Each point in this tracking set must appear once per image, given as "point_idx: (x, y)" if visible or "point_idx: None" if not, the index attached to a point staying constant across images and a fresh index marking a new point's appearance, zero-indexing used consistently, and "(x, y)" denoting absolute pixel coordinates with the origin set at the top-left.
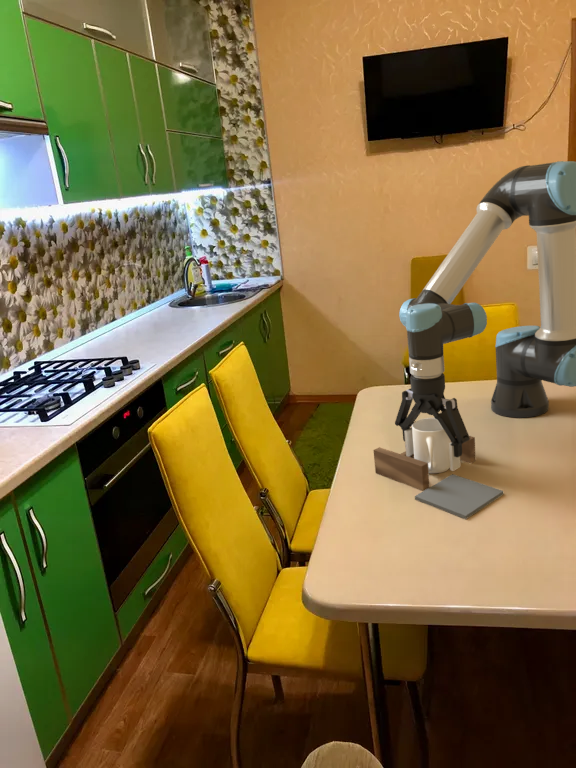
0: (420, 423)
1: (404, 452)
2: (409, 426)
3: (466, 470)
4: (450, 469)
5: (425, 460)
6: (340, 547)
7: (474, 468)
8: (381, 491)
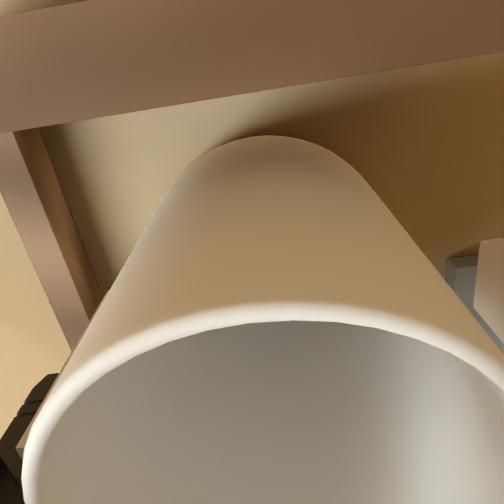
0: (64, 456)
1: (57, 304)
2: (22, 496)
3: (464, 142)
4: (478, 310)
5: (320, 377)
6: None
7: (494, 81)
8: None
